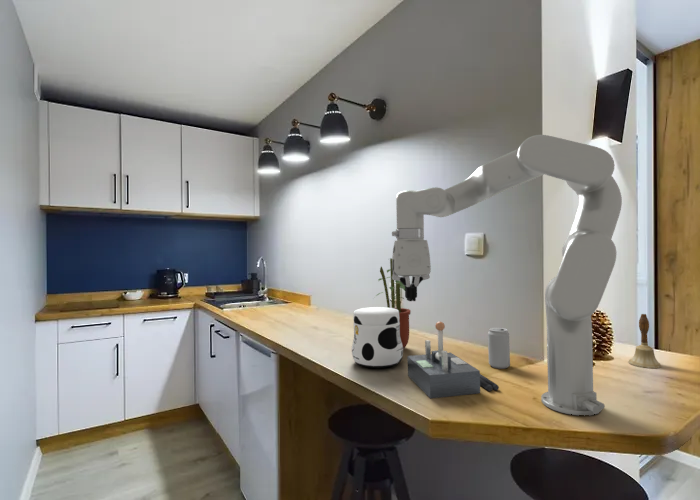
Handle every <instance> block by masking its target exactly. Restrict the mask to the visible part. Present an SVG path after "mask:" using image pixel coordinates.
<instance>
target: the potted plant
mask: <svg viewBox="0 0 700 500" xmlns="http://www.w3.org/2000/svg"><path fill="white" fill-rule="evenodd" d="M389 264H390V265H389V266H390V268H389V269H386V273H387V274H388V273H389V272H390V276H388V277H386V276H385V271H384V269H383V267H382V265H381V266H380V268H379V272H380V275H381V278H379V279H378V280H377V281H378V282H380V281H382V282H383V283H382V284H383V287H384V291H382V292H379V293H378V294H376V295H375V297H377V296H379V295H380V294H384V293H385V299H386V300H385V301H386V306H387V307H388V308H394V309H397V310H398V311H399V322H400V338H401V342H402V345H403V350H404V349H405V348H406V347H407V345H408V343H409V339H410V315H411V312H412V311H411V309H409V308H405V307H404V308H403V307H402V303H401V299H403V300H405V298H404V297H402V296H401V289H402V290H403V291H404V292H405V286H404V285H403V284H402V283H401V282H400V281H397V280H393V279H392V275H393V272H392V258H391V257H390V258H389ZM389 278H390V286H389V287H388V285H387V280H386V279H389ZM388 288H389V289H390V293H391V294H390V297H391V303H390V297H389V291H388ZM375 297H374V298H375ZM374 298H372V299H373V300H374ZM395 302H396V303H395ZM395 304H396V305H395Z"/></svg>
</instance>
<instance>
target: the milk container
mask: <svg viewBox="0 0 700 500" xmlns="http://www.w3.org/2000/svg"><path fill="white" fill-rule="evenodd" d="M352 317H353V318H352V320H353V339H352V344H351V355H352V359H353V361H354V363H355V364H357V365H359V366H362V367H363V368H364V367H366V368H370V369H371V368H373V369H384V368H389V367H394V366H396V365H398V364H400V362H401V361H402V359H403V355H404V349H403V345H402V342H401V338H400V322H399V311H398V310H397V309H394V308H392V307H390V308H388V307H385V306H384V307H383V306H373V307H372V306H370V307H361V308H358V309H355V310H354V311H353V316H352Z"/></svg>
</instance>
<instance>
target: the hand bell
mask: <svg viewBox="0 0 700 500" xmlns="http://www.w3.org/2000/svg"><path fill="white" fill-rule="evenodd" d="M638 328H639V331H640V334H641V335H640V345H637V346H635V352H634V354H633V356H632V357H631V358H630V359H628V364H630V365H631V366H635V367H639V368H643V369H649V370H650V369H652V370H653V369H660V368H662V364H661V363H660V362H659V361H658V360H657V358H656V354H655V351H654V348H653V347H651V346H650V345H649V340H648V339H649V338H648V332H649V330H650V322H649V318H648V316H647V314H646V313H641V314H640V317H639V320H638Z"/></svg>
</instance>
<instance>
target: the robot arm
mask: <svg viewBox="0 0 700 500" xmlns="http://www.w3.org/2000/svg"><path fill="white" fill-rule="evenodd" d="M614 171H615V160H614V158H613V156H612V155H611V154H610V153H609V152H608V151H607V150H605V149H603V148H601V147H597V146H595V145H591V144H586V143H582V142H577V141H573V140H570V139H565V138H561V137H556V136H554V135H553V136H552V135H546V134H536V135H535V134H534V135H532V136H529V137H527V138H526V139H524V140H523V141H522V143H521V144H520V145H519V147H518V148H516V149H515V150H512V151H510V152H508V153H505V154H504V155H501V156H499V157H497V158H495V159H492V160H490V161H488V162H486V163H484V164H482V165H480V166H479V167H477V168H476V170H475V171H474V172H473V173H472V174H471V175H470V176H469V177H467V178H466V179H464V180H462V181H460V182H459V183H457V184H455V185H452V186H450V187H447V188H446V189H444V188H441V187H438V186H436V187H429V188H425V189H420V190H403V191H400V192H398V193H397V194H396V200H395V201H396V202H395V205H396V229H395V230H394V231H392V232H391V236H392V237H395V238H396V240H394V241H393V242H394V243H393V249H392V272H393V275H392V279H393V280H394V281H395V280H397V281H400V282H401V283H402V284H403V285H404V286H405V291H404V297H405V299H406V301H408V302H416V301H417V299H416V298H418V287H419V286H420V284H421V283H422V281H425V280H429V279H430V274H431V271H432V270H431V269H432V268H431V267H432V266H431V255H430V249H429V244H428V240H427V239H425V223H424V221H425V220H424V219H425V217H424V215H425V216H432V217H436V218H445V217H446V218H447V217H448V216H452V215H454V214H456V213H459V212H460V211H461V212H462V211H463V210H466V209H468V208H470V207H472V206H474V205H477V204H478V203H481V202H484V201H486V200H488V199H491V198H492V197H494V196H497V195H499V194H502V193H503V192H506V191H508V190H510V189H513V188H515V187H518V186H520V185H522V184H526V183H527V182H530V181H532V180H535V179H537V178H539V177H542V176H543V175H546V176H548V177H552V178H555V179H559V180H563V181H565V183H566V184H567V185H568V187H569V188H571V189H572V190H573V191H574V192H575V193H576V196H577V199H578V205H577V210H576V212H575V216H574V219H573V222H572V225H571V227H570V230H569V232H568V235H567V238H566V239H565V242H564V244H563V246H562V249H561V254H562V255H561V257H562V259H561V261H560V262H561V263H560V265H559V268H558V271H557V273H556V276H554V277H553V278H552V279H551V280H550V281H549V282H548V283H547V285H546V287H545V292H544V302H545V316H546V318H545V319H546V355H547V356H546V358H547V359H546V360H547V391H546V392H544V393H542V394H541V396H540V397H541V403H542V404H543V405H544V406H545V407H547V408H548V409H551V410H553V411H555V412H558V413H562V414H566V415H571V414H572V415H571V416H579V415H584V417H585V415H589V416H594V414H595V415H598V414H599V412H600V413H601V412H602V410H603V409H605V407H606V406H605V403H603V402H601V401H599V400H598V398H597V392H595V391H594V366H593V365H594V362H593V357H594V356H593V324H592V315H593V314H594V313H595V312H596V311H597V309H598V307H599V305H600V304H601V301H602V298H603V296H604V293H605V290H606V288H607V285H608V284H609V283H608V282H609V280H610V277H611V275H612V273H613V271H614V267H615V264H616V261H617V248H616V244H615V243H614V241H613V240H612V239H613V237H614V232H615V231H616V227H617V224H618V220H619V217H620V215H621V211H622V204H623V203H622V193H621V190H620V186H619V185H618V183H617V181H616V180H615V178H614V177H613V175H614ZM410 277H411V279H410Z"/></svg>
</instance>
